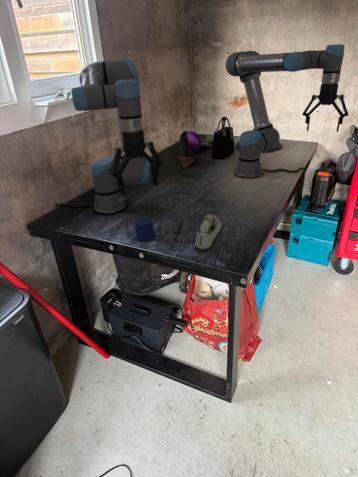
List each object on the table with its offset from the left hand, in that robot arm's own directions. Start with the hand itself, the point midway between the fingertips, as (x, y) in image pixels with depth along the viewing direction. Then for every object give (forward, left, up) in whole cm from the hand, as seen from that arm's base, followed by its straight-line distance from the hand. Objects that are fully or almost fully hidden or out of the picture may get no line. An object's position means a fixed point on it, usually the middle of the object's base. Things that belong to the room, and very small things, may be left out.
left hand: (139, 188), depth 122 cm
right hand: (+78, +63, +6) cm, 100 cm away
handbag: (+29, +113, -21) cm, 119 cm away
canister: (0, 0, -21) cm, 21 cm away
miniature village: (+53, +135, -21) cm, 146 cm away
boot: (+7, +97, -21) cm, 99 cm away
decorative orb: (+6, +120, -21) cm, 121 cm away
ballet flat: (+26, +2, -21) cm, 33 cm away
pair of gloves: (+18, +143, -21) cm, 145 cm away
